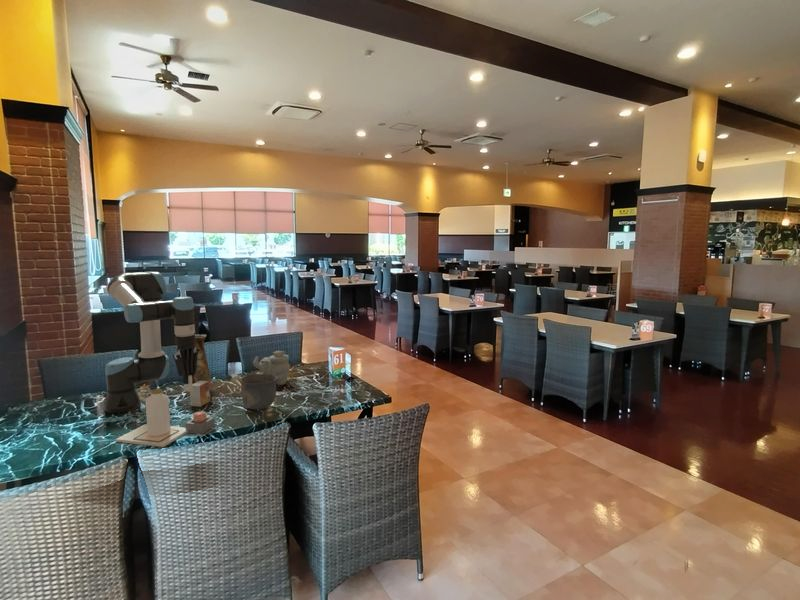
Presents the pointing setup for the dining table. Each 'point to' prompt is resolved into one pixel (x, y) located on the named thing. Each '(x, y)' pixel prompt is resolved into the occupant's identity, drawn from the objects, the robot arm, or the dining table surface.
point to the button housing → (200, 426)
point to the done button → (199, 417)
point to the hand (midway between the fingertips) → (188, 390)
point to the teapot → (275, 366)
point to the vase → (201, 361)
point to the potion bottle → (157, 413)
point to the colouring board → (144, 438)
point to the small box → (200, 393)
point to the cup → (258, 390)
